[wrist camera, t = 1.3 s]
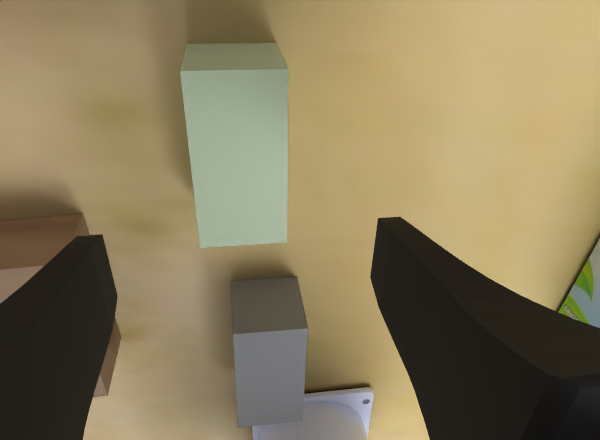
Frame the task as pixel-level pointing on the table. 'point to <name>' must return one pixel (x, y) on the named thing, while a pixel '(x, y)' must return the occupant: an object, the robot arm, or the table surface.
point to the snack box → (586, 293)
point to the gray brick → (269, 350)
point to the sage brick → (237, 141)
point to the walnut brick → (36, 254)
